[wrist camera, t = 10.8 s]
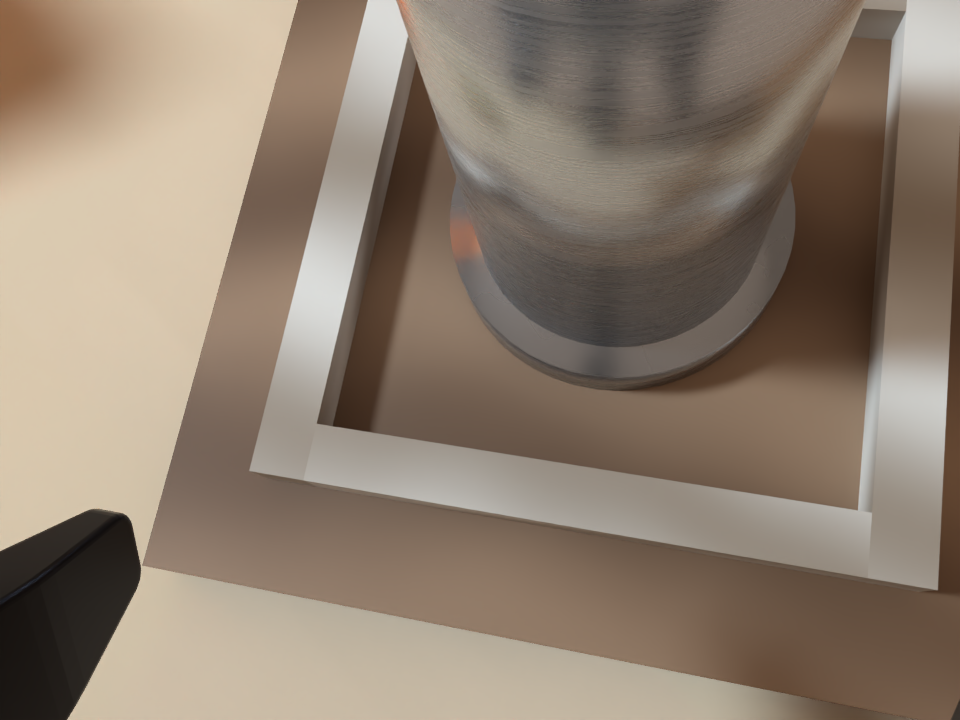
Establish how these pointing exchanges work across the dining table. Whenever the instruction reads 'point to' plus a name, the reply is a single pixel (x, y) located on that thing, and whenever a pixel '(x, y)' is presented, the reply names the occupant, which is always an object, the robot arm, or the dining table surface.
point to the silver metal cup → (624, 169)
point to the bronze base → (593, 400)
